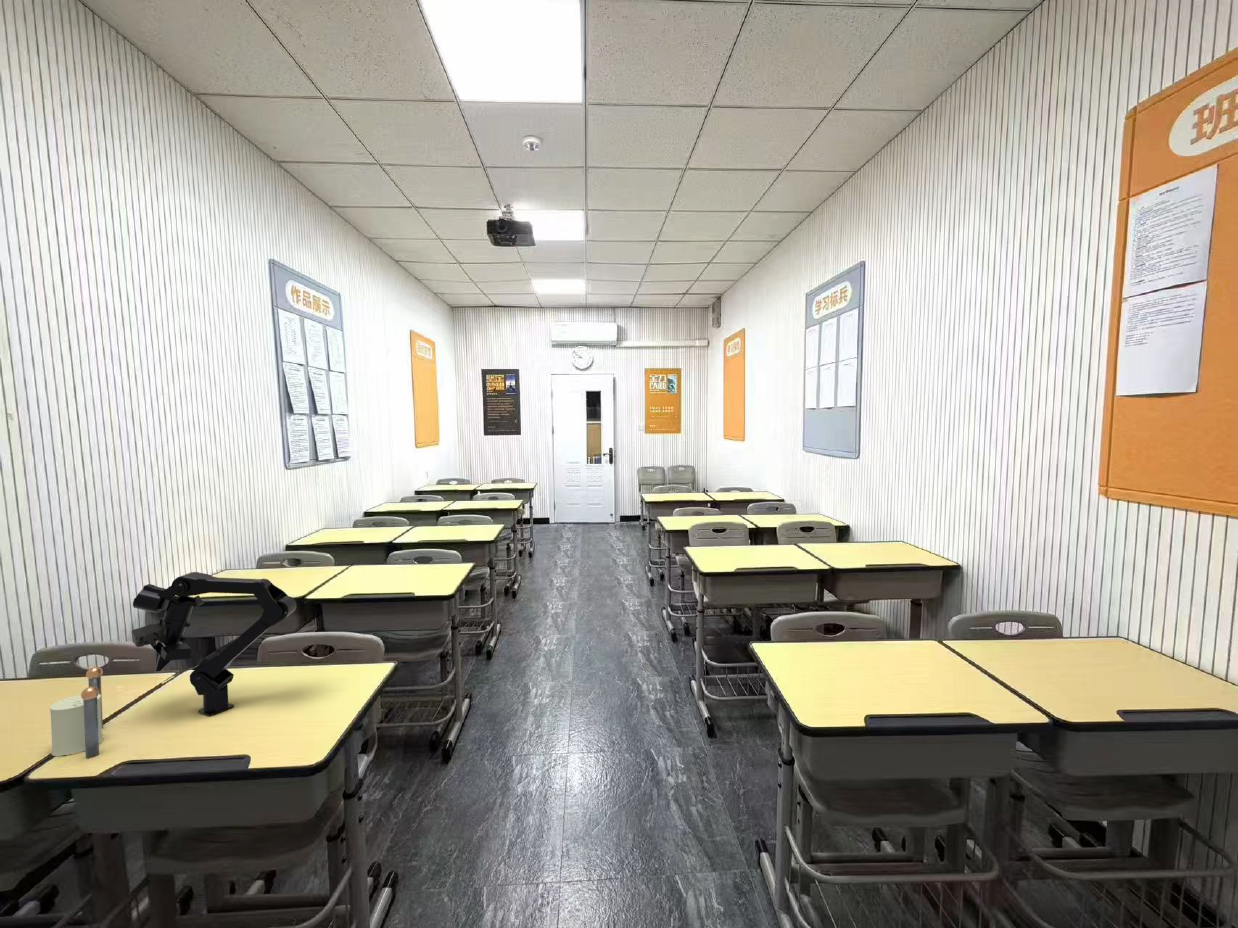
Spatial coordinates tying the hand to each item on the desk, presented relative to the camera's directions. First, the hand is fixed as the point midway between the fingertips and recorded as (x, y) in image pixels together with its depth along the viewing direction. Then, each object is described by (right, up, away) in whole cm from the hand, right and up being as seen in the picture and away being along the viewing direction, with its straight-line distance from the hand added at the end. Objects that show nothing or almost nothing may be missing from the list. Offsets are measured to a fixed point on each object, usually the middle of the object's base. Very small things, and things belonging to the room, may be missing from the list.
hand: (157, 670), depth 152 cm
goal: (-5, -13, -14) cm, 19 cm away
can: (-7, -13, -16) cm, 22 cm away
